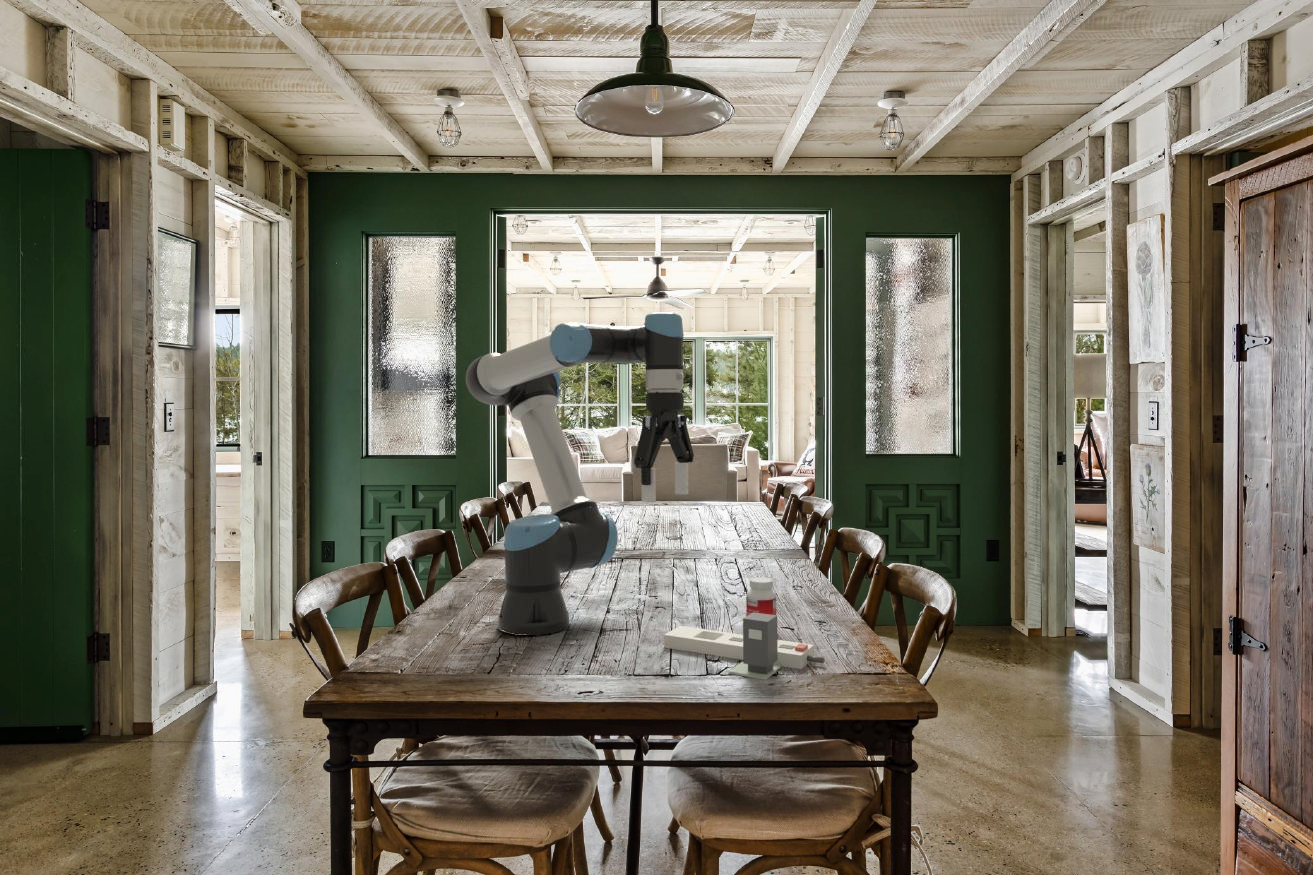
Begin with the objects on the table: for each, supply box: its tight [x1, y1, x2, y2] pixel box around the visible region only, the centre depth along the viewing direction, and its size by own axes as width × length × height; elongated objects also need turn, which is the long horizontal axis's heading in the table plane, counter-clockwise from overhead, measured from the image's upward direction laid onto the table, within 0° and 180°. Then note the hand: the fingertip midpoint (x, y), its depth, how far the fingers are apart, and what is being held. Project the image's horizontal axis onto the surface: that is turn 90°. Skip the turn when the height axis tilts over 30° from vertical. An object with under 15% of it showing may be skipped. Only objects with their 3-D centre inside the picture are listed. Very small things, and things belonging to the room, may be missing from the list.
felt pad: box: [728, 661, 782, 681], centre depth 146 cm, size 7×7×1 cm
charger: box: [742, 612, 779, 674], centre depth 144 cm, size 5×5×10 cm
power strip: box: [663, 625, 825, 670], centre depth 155 cm, size 31×7×3 cm, turn 60°
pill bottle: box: [745, 577, 777, 617], centre depth 169 cm, size 6×6×11 cm
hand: (665, 497), depth 164 cm, fingers open, 13 cm apart
